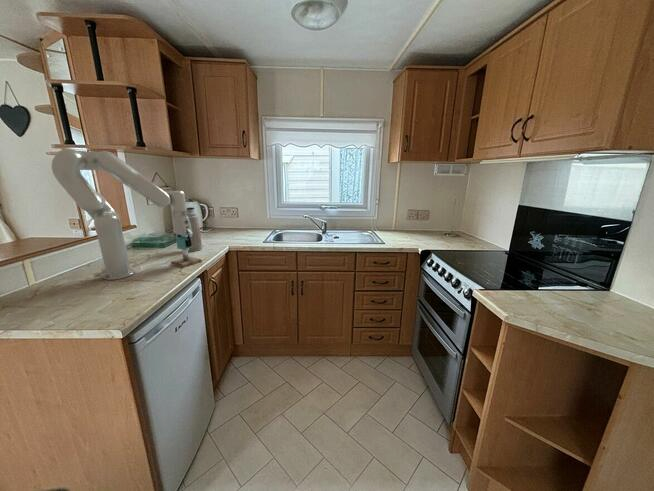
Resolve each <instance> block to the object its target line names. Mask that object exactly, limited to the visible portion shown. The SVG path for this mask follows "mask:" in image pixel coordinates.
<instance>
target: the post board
mask: <svg viewBox="0 0 654 491" xmlns="http://www.w3.org/2000/svg"><path fill="white" fill-rule="evenodd" d="M170 263H171V265H172V266H177V267H180V268H183V269H184V268H186V267H190V266H193V265H197V264H199V263H202V259H201V258H197V257H192V256H189V261H183V258H180V259H176V260H173V261H170Z"/></svg>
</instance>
